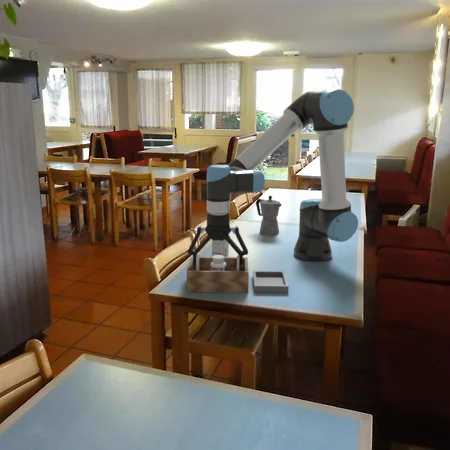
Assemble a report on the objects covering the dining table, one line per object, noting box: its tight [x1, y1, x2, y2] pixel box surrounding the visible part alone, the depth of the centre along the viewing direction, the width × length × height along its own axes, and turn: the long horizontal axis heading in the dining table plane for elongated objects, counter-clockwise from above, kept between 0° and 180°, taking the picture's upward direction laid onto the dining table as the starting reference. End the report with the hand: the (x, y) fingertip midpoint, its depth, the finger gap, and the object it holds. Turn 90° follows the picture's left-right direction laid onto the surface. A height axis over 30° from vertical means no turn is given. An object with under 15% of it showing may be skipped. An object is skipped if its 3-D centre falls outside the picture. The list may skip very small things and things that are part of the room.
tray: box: [252, 270, 290, 294], centre depth 156 cm, size 11×14×2 cm
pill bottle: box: [211, 255, 226, 271], centre depth 156 cm, size 5×5×10 cm
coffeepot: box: [255, 195, 282, 236], centre depth 217 cm, size 15×9×18 cm, turn 44°
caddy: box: [186, 256, 250, 294], centre depth 156 cm, size 20×15×7 cm
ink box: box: [211, 239, 230, 257], centre depth 173 cm, size 9×5×12 cm, turn 168°
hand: (217, 273), depth 156 cm, fingers open, 13 cm apart
